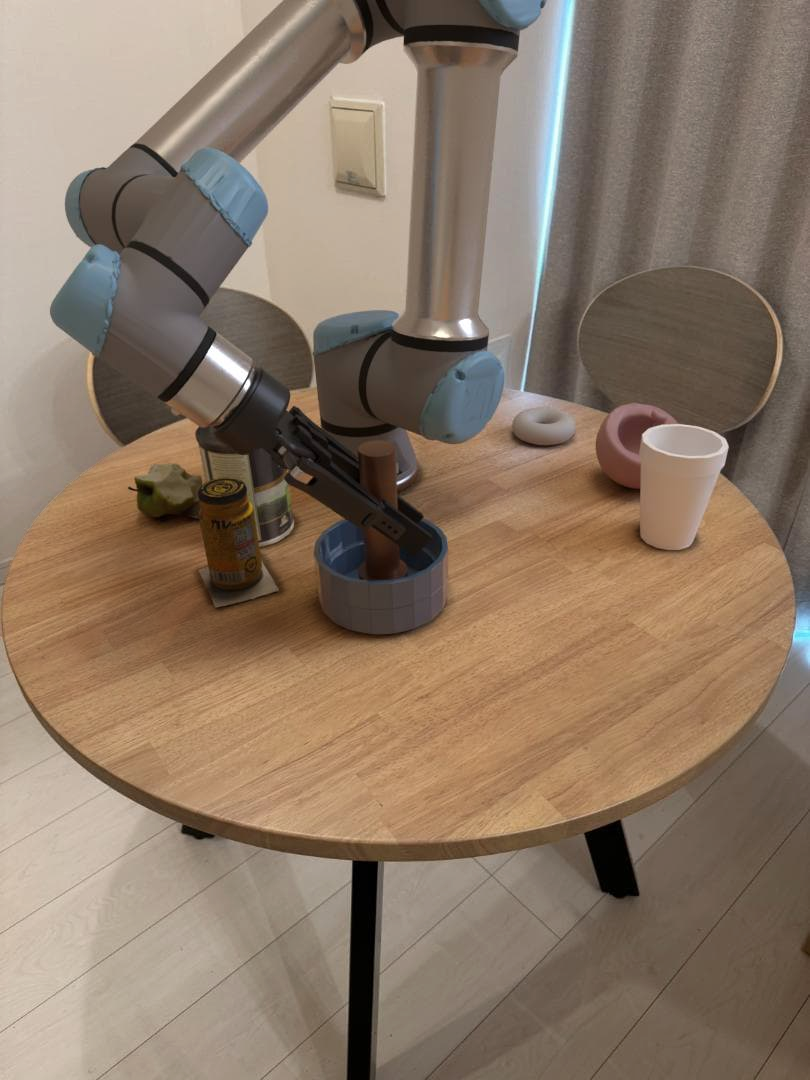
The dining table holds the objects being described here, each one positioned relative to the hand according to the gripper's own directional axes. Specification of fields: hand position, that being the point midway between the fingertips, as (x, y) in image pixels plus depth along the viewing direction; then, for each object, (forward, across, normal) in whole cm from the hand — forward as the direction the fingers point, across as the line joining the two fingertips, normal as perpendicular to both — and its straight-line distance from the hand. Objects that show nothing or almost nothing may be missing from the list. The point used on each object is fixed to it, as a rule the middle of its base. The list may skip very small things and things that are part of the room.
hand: (418, 534), depth 76 cm
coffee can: (-6, -21, -19) cm, 29 cm away
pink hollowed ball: (+31, -21, +18) cm, 42 cm away
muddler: (+1, 0, -7) cm, 7 cm away
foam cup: (+30, -7, +16) cm, 35 cm away
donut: (+27, -39, +13) cm, 49 cm away
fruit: (-14, -28, -27) cm, 41 cm away
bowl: (+4, -2, -9) cm, 10 cm away
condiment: (-7, -9, -20) cm, 24 cm away
